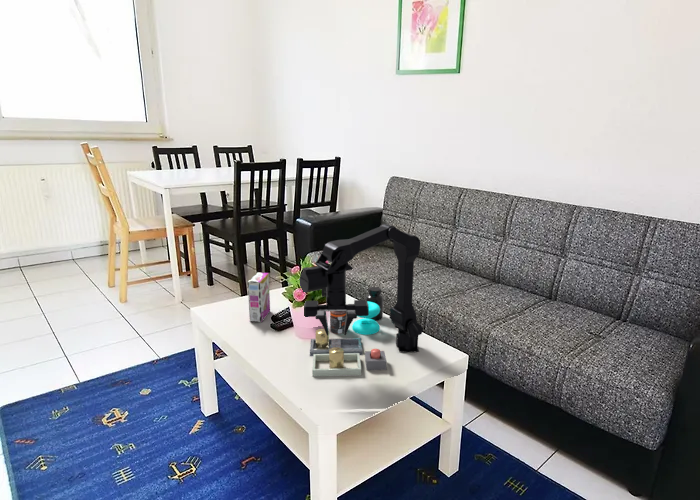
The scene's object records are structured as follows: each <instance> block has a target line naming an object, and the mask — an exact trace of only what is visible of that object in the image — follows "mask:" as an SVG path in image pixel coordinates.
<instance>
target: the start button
mask: <svg viewBox="0 0 700 500" xmlns="http://www.w3.org/2000/svg"><path fill="white" fill-rule="evenodd" d="M370 351H371V359H380V351H381V350H380V349H379V348H371V350H370Z"/></svg>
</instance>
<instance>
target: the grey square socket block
mask: <svg viewBox="0 0 700 500" xmlns="http://www.w3.org/2000/svg"><path fill="white" fill-rule="evenodd" d="M364 362H365V369H366V371H387V357H386V353H385V350H380V359H371V350H368V351H364Z"/></svg>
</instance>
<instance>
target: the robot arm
mask: <svg viewBox="0 0 700 500" xmlns="http://www.w3.org/2000/svg"><path fill="white" fill-rule="evenodd" d="M387 241H390V242H391V243H392V245H393V252H394V254H395V256H396V259H397V282H396V283H397V291H396V303H395V305H394V306H392V307H390V308H389V312H390V314H389V319H390V321H391V323H392V324H393V325H394V328H395V329H397V333H395V334H396V336H395V345H396V348H397V350H398V352H399V353H417V352H420V351H419V336H420V335H422V334H423V331H424V328H423V326H422V325H420V323H418V317H417V312H416V310H415V308H414V305H413V294H414V293H413V291H414V290H413V288H414V285H413V284H414V267H415V261H416V259H417V258H418V256H419V255H420V250H421V249H420V248H421V239H420V238H419V237H418V236H417V235H414V234H411V233H408V232H406V231H401V230H400V229H398V228H397V227H395V225H391V224H388V223H383V224H381V225H380V226H379V227H376V228H372V229H371V230H368V231H365V232H364V233H361V234H359V235H357V236H354V237H351V238H349V239H348V238H347V239H337V240H331V241H328V242H327V243H324V247H323V249H322V252H321V254H320V256H319V257H318V258H317V260H316V262H315V266H311V267H309V266H308V267H303V268H302V272H301V273H300V275H299V280H300V286H301V288H302V290H303V292H305V294H306V293H311V292H314V291H315V292H316V291H320V290H321V298H325V299H326V301H325V302H326V303H325V304H319V301H318V300H306V301H305V303H304V316H305V317H309V318H310V317H311V318H315V319H316V320H319V322H320V324H321V325H322V327H323V329H325V332H326V334H327V335H328V331H329V325H328V318H327V312H330V311H346V320H345V327H344V333H343V334H344V335H345V336H346V335H347V333H348V330H349V328H350V326H351V324H352V323H353V320H355V319H358V316H368V315H369V307H368V302H367V301H366V299H354V301H353V303H347V282H346V281H347V271H351V270H353V269H354V267H353V266H351V265H350V264H349V262H350V261H351V260H353V259H354V257H355V256H357V255H358V254H359V253H360V252H364V251H365V250H369V249H371V248H373V247H375V246H377V245H380V244H382V243H384V242H387ZM327 261H328V262H329V263H328V262H327Z"/></svg>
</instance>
